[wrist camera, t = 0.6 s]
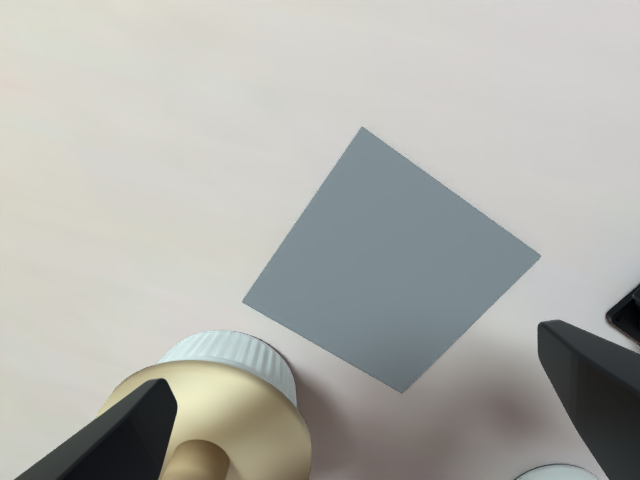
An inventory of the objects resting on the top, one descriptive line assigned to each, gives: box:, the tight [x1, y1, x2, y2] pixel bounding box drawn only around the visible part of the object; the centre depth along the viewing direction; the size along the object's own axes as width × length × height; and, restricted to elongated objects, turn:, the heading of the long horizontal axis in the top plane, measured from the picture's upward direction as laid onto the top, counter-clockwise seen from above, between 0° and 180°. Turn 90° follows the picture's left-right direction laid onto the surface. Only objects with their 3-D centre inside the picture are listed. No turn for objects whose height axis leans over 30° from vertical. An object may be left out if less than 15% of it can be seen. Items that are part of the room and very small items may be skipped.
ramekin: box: [155, 330, 297, 408], centre depth 24 cm, size 11×11×5 cm
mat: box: [242, 127, 541, 393], centre depth 22 cm, size 13×13×1 cm
